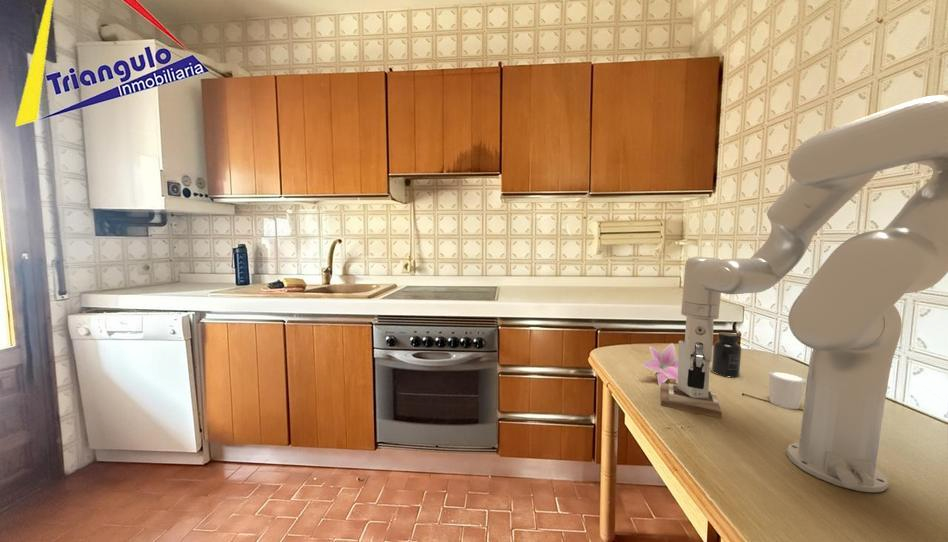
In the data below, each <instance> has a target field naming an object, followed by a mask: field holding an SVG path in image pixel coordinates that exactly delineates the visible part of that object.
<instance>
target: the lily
mask: <svg viewBox="0 0 948 542" xmlns="http://www.w3.org/2000/svg"><path fill="white" fill-rule="evenodd" d="M648 348H649V351H650V353H651V356H652V357H651V358H650V359H647V360H645V361H644V362H642V363H641V366H642V367H643V368H646V369H647V370H651V371H652V372H655V374H654V376H655V375H656V376H657V377H656V378H657V383H658V386H659V387H661V384H662V383H666V381H667V380H668V379H669V380H670V378H673V379H676V385H677V384H678V359H677V352H676V347H675V344H674V343H673V342H671V343H669V345H667V346H666V347H665V348H664V349H663V350H662V351H660V350H659V349H656V348H655V347H653V346H651V345H649V346H648Z"/></svg>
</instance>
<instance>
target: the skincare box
mask: <svg viewBox="0 0 948 542" xmlns="http://www.w3.org/2000/svg"><path fill="white" fill-rule="evenodd" d="M695 349H696V346H695ZM677 350H678V351H677V352H678V356H677V360H678V384H677V383H676V385H677V387H678V388H679V389H680V390H682V391H683V392H685V393H686V394H687V395H689V396H690V397H692V398H708V392H709V391H710V390H709V388H710V387H709V386H710V363H711V362H708V361H706V359H705V380H704V388H703V389H698V388H693V387H688V386H687V381H688V370H689V369H690V359H688V358H687V355H686V343H685V340H679V341H678V349H677ZM693 357H696V356H695V355H694V352H693ZM693 362H694V361H693Z"/></svg>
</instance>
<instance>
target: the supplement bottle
mask: <svg viewBox="0 0 948 542" xmlns="http://www.w3.org/2000/svg"><path fill="white" fill-rule="evenodd" d="M717 336H718V337H717V339H718V340H717V341H715V342H714V343H713V346H712V361H711V363H712V364H711V371H712V370H713V371H714V372H716V373H718V374H721V375H725V376H724V377H726V376H730V377H729V378H737V377H739V376H740V369H741V358H742V347H741V345H739V344H738V342H739V335H738V334H735V333H732V332H724V331H723V332H718V335H717ZM713 371H712V372H713ZM714 372H713V373H714ZM716 373H715V374H716ZM718 374H717V375H718ZM721 375H720V376H721Z"/></svg>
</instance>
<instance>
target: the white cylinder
mask: <svg viewBox="0 0 948 542" xmlns="http://www.w3.org/2000/svg"><path fill="white" fill-rule="evenodd" d="M806 384H807V379H806V378H804V377H803V376H800V375H796V374H793V373H789V372H784V371H769V402H770V403H772V404H774V405H775V406H778V407H781V408H784V409H790V410H798V409H799V408H800V407H801V402H802V399H803V395H804V390H805V388H806V387H805V386H806Z"/></svg>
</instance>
